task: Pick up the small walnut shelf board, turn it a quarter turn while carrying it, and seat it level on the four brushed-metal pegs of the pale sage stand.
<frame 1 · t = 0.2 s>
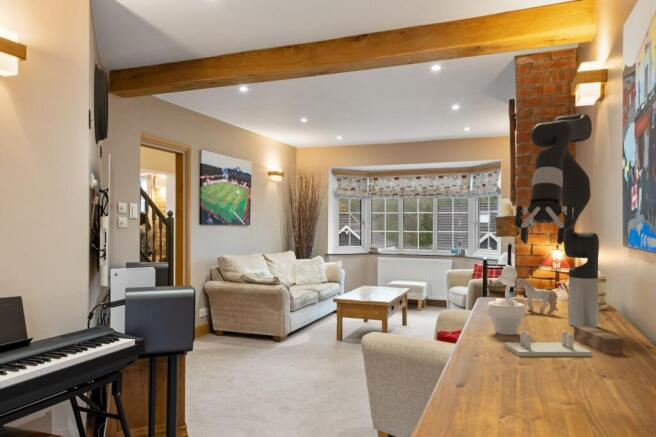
hand: (541, 243, 123), 31 cm above the table, fingers open, 8 cm apart
walnut shelf board: (596, 347, 138), on the table
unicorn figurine: (532, 313, 191), on the table
peg stand: (546, 351, 132), on the table
potted plant: (505, 334, 154), on the table
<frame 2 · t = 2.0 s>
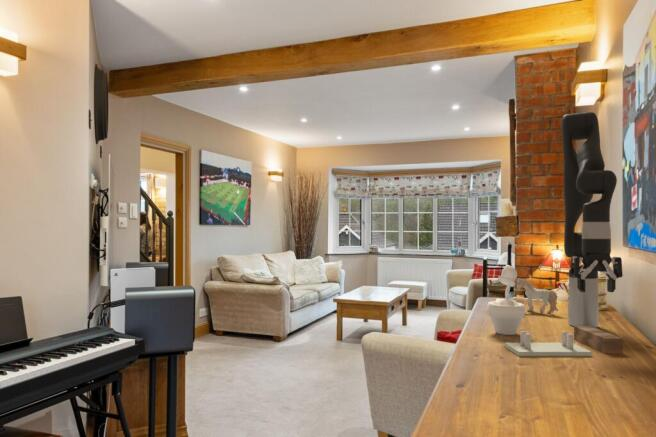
hand: (596, 291, 139), 16 cm above the table, fingers open, 8 cm apart
nothing on the table moved.
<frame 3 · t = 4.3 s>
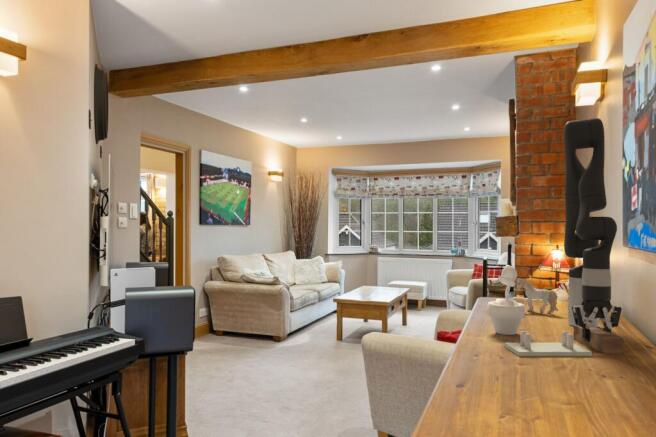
hand: (596, 340, 138), 2 cm above the table, fingers closed on walnut shelf board, 5 cm apart
walnut shelf board: (596, 346, 138), on the table, touching gripper
everything else where it was.
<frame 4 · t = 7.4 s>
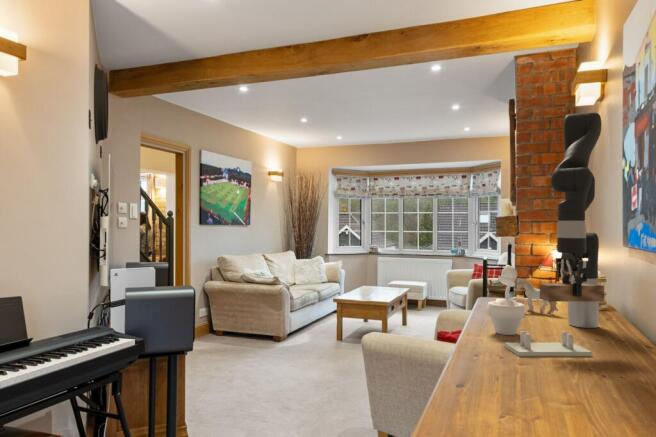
hand: (571, 294, 135), 16 cm above the table, fingers closed on walnut shelf board, 5 cm apart
walnut shelf board: (571, 300, 135), point 14 cm above the table, touching gripper
everything else where it was.
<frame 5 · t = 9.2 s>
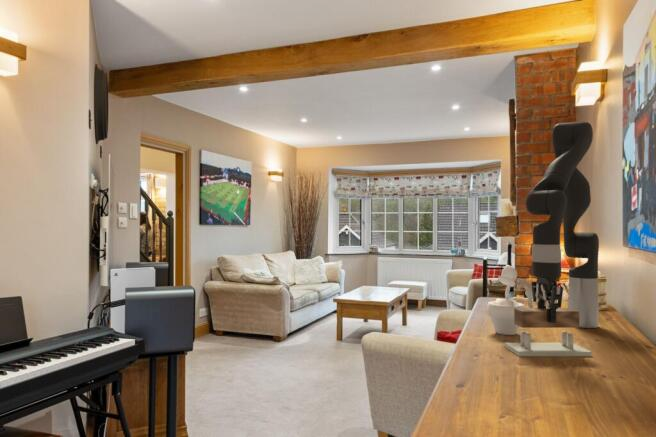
hand: (546, 320, 132), 9 cm above the table, fingers closed on walnut shelf board, 5 cm apart
walnut shelf board: (546, 325, 132), point 7 cm above the table, touching gripper
everything else where it was.
when the fingers open (8 cm above the table, at t = 10.6 s): walnut shelf board stays where it is, resting on peg stand.
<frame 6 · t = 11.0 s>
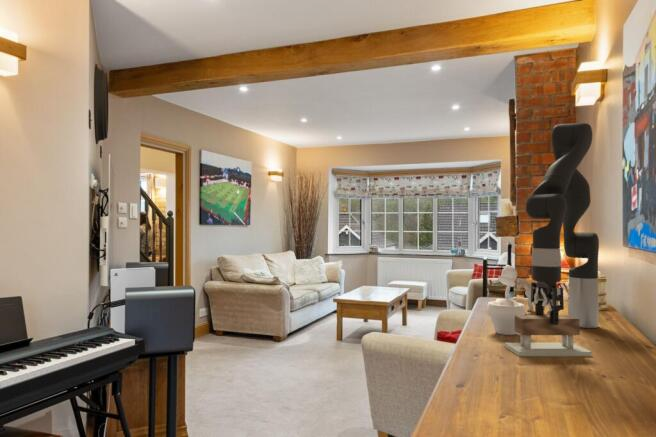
hand: (546, 321, 132), 8 cm above the table, fingers open, 8 cm apart
walnut shelf board: (546, 333, 132), point 5 cm above the table, touching peg stand
everything else where it was.
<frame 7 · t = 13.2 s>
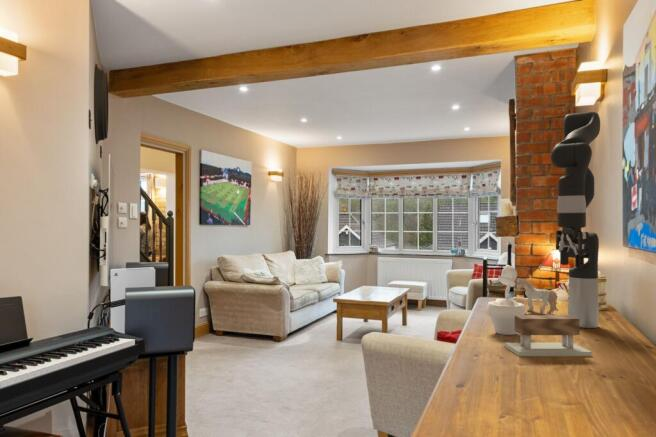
hand: (571, 266, 138), 24 cm above the table, fingers open, 8 cm apart
nothing on the table moved.
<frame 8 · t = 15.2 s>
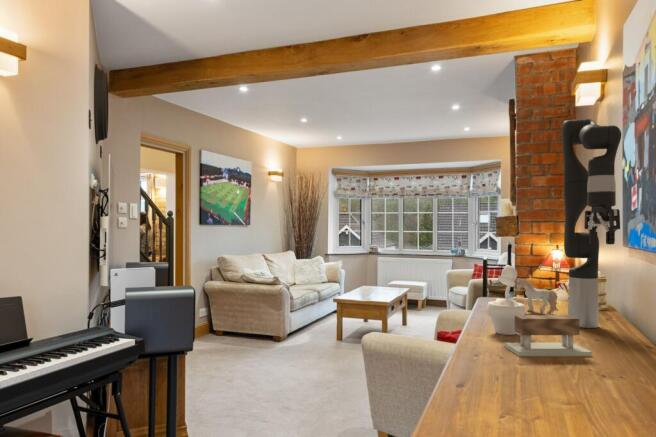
hand: (601, 243, 143), 30 cm above the table, fingers open, 8 cm apart
nothing on the table moved.
at the end: walnut shelf board 0.2 cm off-centre on the peg stand, point 5.2 cm above the peg stand's base; walnut shelf board tilted 0°; the gripper is holding nothing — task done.
